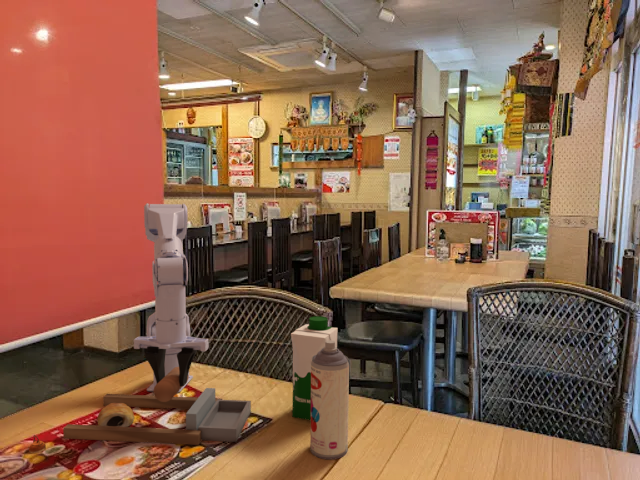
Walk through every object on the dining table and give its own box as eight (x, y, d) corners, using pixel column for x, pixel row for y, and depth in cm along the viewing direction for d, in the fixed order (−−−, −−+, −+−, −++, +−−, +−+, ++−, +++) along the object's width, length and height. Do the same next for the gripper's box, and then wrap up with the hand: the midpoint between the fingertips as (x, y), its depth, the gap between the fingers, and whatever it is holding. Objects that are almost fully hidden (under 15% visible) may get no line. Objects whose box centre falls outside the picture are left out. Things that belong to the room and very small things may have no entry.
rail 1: (107, 402, 103) (107, 393, 103) (222, 407, 101) (222, 398, 101) (103, 405, 101) (103, 396, 101) (220, 410, 99) (220, 401, 99)
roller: (171, 385, 97) (169, 367, 97) (189, 385, 97) (187, 366, 97) (154, 402, 89) (152, 382, 89) (174, 401, 89) (172, 381, 89)
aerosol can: (307, 441, 87) (308, 337, 85) (342, 438, 88) (344, 335, 87) (313, 461, 80) (314, 348, 79) (351, 457, 82) (353, 346, 80)
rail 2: (68, 434, 89) (68, 424, 89) (201, 440, 87) (201, 430, 87) (63, 438, 87) (63, 428, 87) (198, 444, 85) (198, 434, 85)
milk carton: (340, 408, 101) (341, 318, 99) (325, 426, 93) (326, 328, 91) (303, 401, 104) (304, 313, 103) (285, 418, 96) (286, 323, 94)
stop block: (206, 410, 99) (206, 387, 99) (215, 410, 99) (215, 388, 99) (186, 439, 87) (185, 413, 87) (196, 439, 87) (196, 414, 87)
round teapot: (25, 454, 82) (24, 440, 82) (32, 446, 85) (32, 432, 85) (42, 453, 82) (42, 439, 82) (49, 444, 85) (49, 431, 85)
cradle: (217, 410, 99) (217, 399, 99) (250, 412, 99) (250, 400, 99) (198, 440, 87) (198, 427, 87) (236, 441, 87) (236, 429, 86)
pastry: (97, 415, 97) (97, 397, 97) (132, 409, 100) (131, 392, 100) (97, 435, 89) (97, 416, 89) (135, 428, 92) (135, 410, 92)
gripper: (125, 321, 88) (127, 390, 90) (200, 324, 87) (200, 393, 89) (142, 312, 95) (143, 376, 97) (211, 314, 94) (212, 379, 96)
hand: (172, 384), depth 93 cm, fingers closed on roller, 4 cm apart
